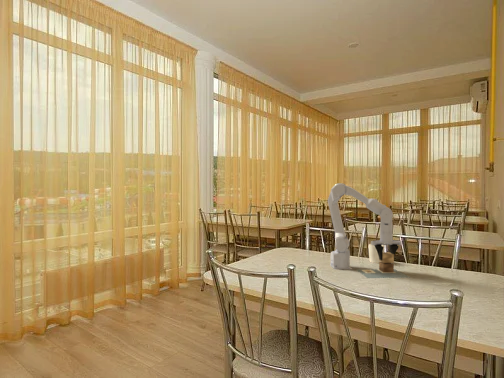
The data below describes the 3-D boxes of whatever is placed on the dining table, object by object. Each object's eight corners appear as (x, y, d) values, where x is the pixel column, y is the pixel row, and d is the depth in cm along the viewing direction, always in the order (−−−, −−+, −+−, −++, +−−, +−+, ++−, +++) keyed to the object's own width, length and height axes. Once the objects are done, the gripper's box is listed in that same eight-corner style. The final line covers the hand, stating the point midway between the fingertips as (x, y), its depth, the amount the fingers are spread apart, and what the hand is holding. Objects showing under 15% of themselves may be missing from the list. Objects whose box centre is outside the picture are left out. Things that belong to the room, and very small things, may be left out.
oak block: (383, 262, 158) (383, 254, 158) (379, 260, 163) (379, 252, 163) (393, 262, 158) (393, 254, 158) (389, 260, 163) (389, 252, 163)
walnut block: (383, 272, 158) (383, 264, 158) (379, 269, 163) (379, 261, 163) (393, 272, 158) (393, 264, 158) (388, 269, 163) (388, 261, 163)
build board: (367, 279, 149) (367, 278, 149) (355, 270, 164) (355, 269, 164) (410, 278, 149) (410, 277, 149) (394, 270, 164) (394, 268, 164)
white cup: (381, 261, 183) (381, 243, 183) (385, 264, 175) (385, 246, 175) (366, 261, 184) (366, 243, 184) (370, 264, 176) (370, 246, 176)
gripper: (375, 233, 156) (375, 261, 156) (404, 233, 157) (404, 261, 157) (369, 231, 163) (369, 258, 163) (397, 231, 164) (397, 257, 164)
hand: (386, 259), depth 161 cm, fingers closed on oak block, 5 cm apart
